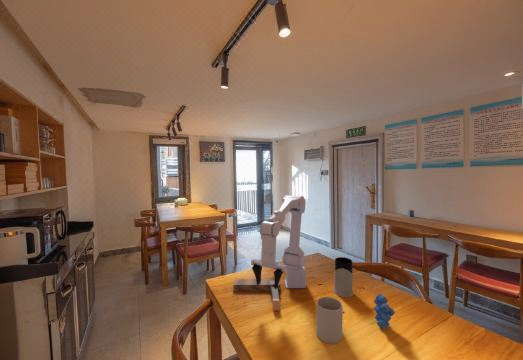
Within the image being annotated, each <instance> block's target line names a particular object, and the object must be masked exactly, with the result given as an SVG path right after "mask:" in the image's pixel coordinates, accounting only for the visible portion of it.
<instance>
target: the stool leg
mask: <svg viewBox="0 0 523 360" xmlns="http://www.w3.org/2000/svg"><path fill="white" fill-rule="evenodd" d="M270 293H271V299H272V301H271V302H272V311H273V312H275V311H276V312H277V311H278V312H279V311H280V308H281V307H280V302H281V301H280V297H279V291H278V288H277V289H274V285H271V291H270Z"/></svg>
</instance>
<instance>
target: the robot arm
mask: <svg viewBox="0 0 523 360" xmlns="http://www.w3.org/2000/svg"><path fill="white" fill-rule="evenodd" d="M305 211H306V198H305V197H304V196H303V195H289V194H284V196H283V197H282V203H281V205H280V206H279V208H278V209H277V210H274V211H273V213H272V214H271V215H270V216H269V217H268V219H267V220H264V221H262V222H261V223H260V226H259V229H258V230H259V234H260V240H261V257H260V259H257V258H253V259H251V261H250V265H251V266H252V267H251V270H252V272H253V274H254V276H255V277H254V278H255V279H256V282H257V285H259V284H260V283H261V279H262V269H263V268H268V269H272V270H274V271H273V277H274V279H275V282H274V289H277V288H278V284H279V281H280V282H281V278H282V275H283V274H284V272H286V274H285V279H284V283H285V288H286V289H306V288H307V286H306V285H307V284H306V280H307V278H306V277H307V272H306V267H305V262H306V258H305V251H304V250H303V249H302V248H301V247H300V240H301V227H302V225H301V224H302V214H304V213H305ZM288 213H290V214H291V220H290V229H289V230H290V233H289V244H288V246H287V247H285V249H284V250H283V255H282V263H279V262H276V252H277V236H279V235H280V234H279V233H280V230H281V226H282V224H283V223H284V222H285V220H286V215H287V214H288Z"/></svg>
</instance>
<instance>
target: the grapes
mask: <svg viewBox="0 0 523 360" xmlns="http://www.w3.org/2000/svg"><path fill="white" fill-rule="evenodd" d="M373 302H374V304H375V306H374V307H373V310H374V312H375V313H376V314H375V316H374V318H375V320H376V321H377V322H376V324H377V325H378V327H380V329H388V328H389V326H390V324H391V323H390V320H392V317H393V316H394V314H396V312H395V310H394V309H393V308H392V307H391V306H390V305H389V304H387V303H388V302H389V300H388V298H387V297H386V296H384V295H383V294H382V293H378V294H377V295H375V297H374V299H373Z"/></svg>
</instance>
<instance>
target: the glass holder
mask: <svg viewBox="0 0 523 360" xmlns="http://www.w3.org/2000/svg"><path fill="white" fill-rule="evenodd" d="M353 273H354V272H353V260H352V259H351V258H348V257H344V256H343V257H339V256H338V257H336V258H335V259H334V281H333V282H334V283H333V285H334V288H333V290H332V291H333V294H335V295H336V296H339V297H342V298H351V297H353V296H354V291H353V280H354V279H353V277H354V276H353V275H354V274H353Z"/></svg>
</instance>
